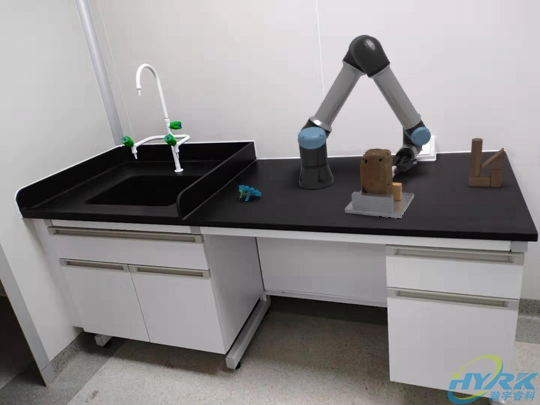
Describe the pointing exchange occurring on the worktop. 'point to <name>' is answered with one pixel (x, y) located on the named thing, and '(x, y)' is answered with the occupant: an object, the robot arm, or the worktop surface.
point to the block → (376, 172)
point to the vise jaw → (397, 191)
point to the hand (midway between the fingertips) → (389, 174)
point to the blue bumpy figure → (248, 191)
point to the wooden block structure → (485, 166)
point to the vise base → (397, 207)
